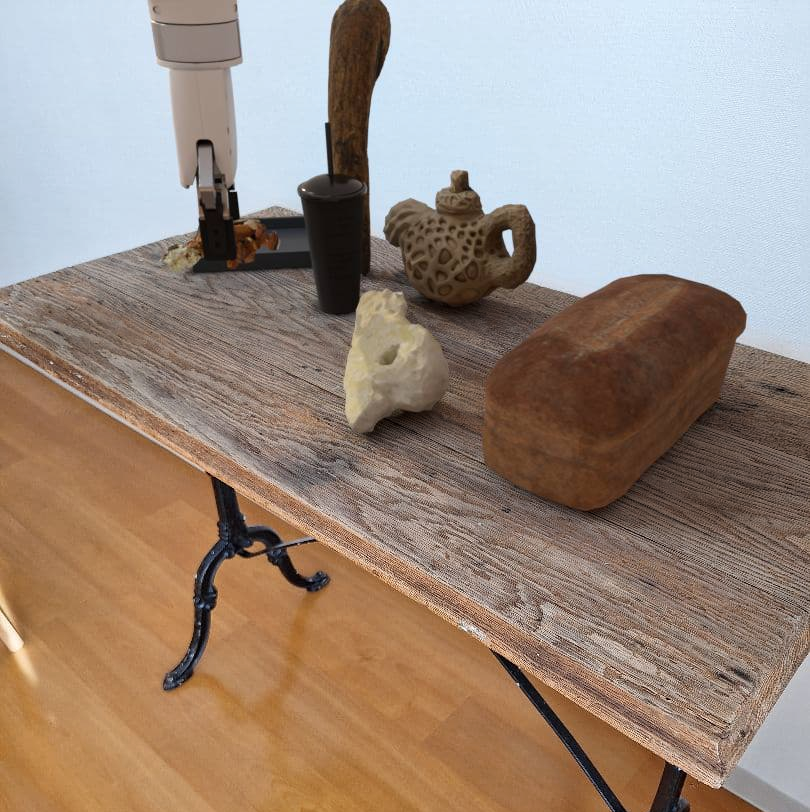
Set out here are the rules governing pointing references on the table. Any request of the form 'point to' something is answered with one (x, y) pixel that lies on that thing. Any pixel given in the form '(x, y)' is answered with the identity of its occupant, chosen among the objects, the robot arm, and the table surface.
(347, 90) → the sculpture
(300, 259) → the serving tray
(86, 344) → the table surface
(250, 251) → the taco
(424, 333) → the cheese
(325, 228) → the drinking cup
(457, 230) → the teapot
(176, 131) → the robot arm
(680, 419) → the bread
